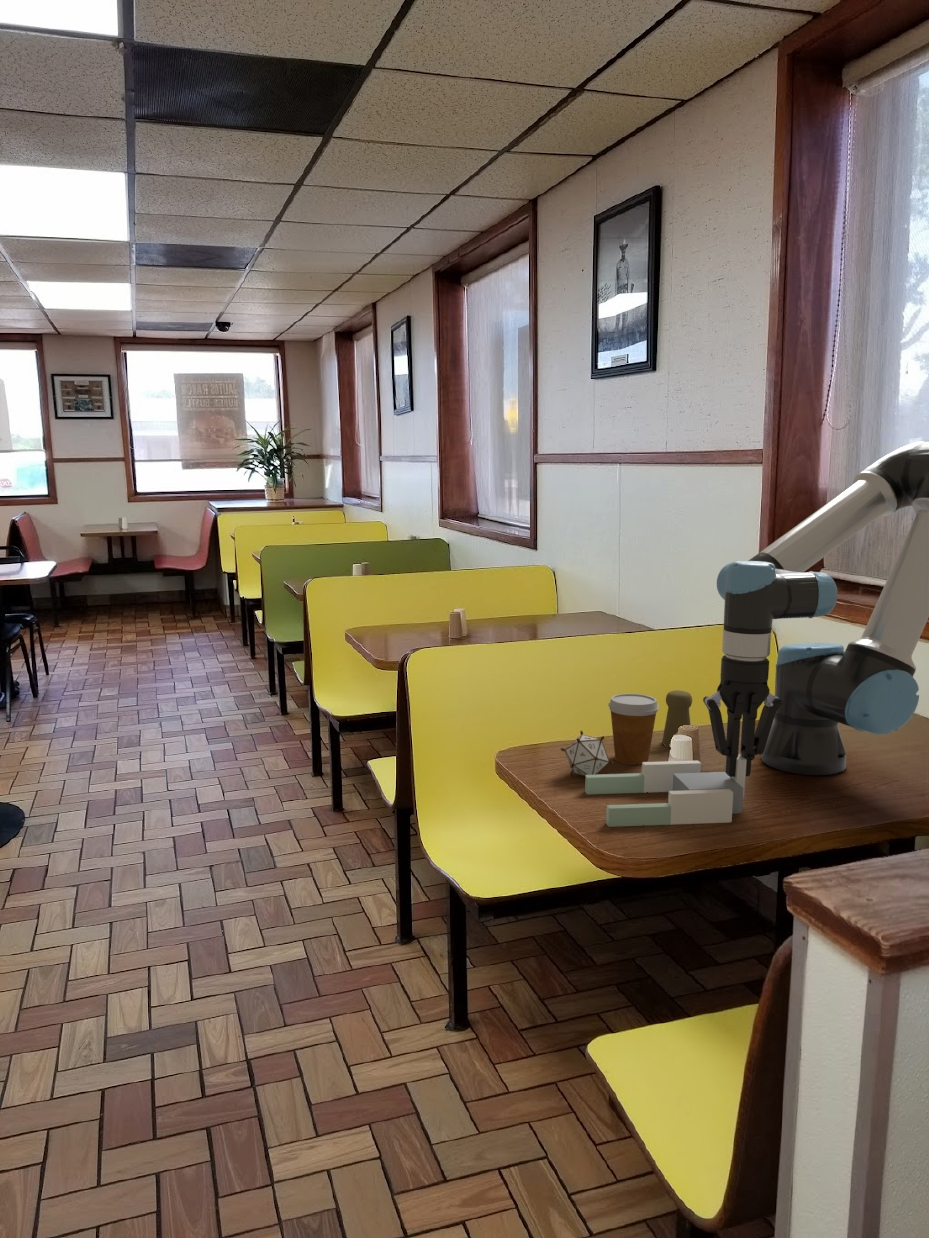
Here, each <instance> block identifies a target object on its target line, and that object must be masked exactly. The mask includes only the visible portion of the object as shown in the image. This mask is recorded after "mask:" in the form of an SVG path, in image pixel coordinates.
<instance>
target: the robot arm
mask: <svg viewBox="0 0 929 1238" xmlns="http://www.w3.org/2000/svg"><path fill="white" fill-rule="evenodd" d="M910 506H911V507H912V509H913V511H914V513H915V517H914V519H913V521H912V523H911V526H910V529H909V530H908V532H907V534H906V537H905V539H904V541H903V543H902V546H901V548H900V550H899V553H898V555H897V557H896V560H895V562H894V564H893V565H892V568H891V570H890V573H889V575H888V577H887V579H886V582H885V584H884V586H883V589H882V590H881V592H880V595H879V598H877V599H878V600H877V601H876V603H875V606H874V609H873V611H872V612H871V615H870V617H869V620H868V622H867V624H866V626H865V628H864V631H863V633H862V636H861V637H860V638H857V639H856V640H852V641H850V642H848V644H847V646H846V649H845V648H844V646H843V645H842V644H839V643H825V642H821V643H820V642H814V643H813V642H811V643H809V642H807V643H806V642H805V643H793V644H786V645H784V646H782V647H780V648H779V650H778V653H777V659H776V664H775V677H774V678H775V681H774V682H775V684H774V694H772V693H770V687H769V686H768V681H769V672H770V660H769V658H768V657H769V656H771V655H770V654H771V644H772V643H771V641H772V629H773V628H772V627H773V622H774V621H773V620H779V619H800V618H801V619H803V618H808V619H814V618H818V617H823V616H826V615H829V614H830V613H831V612H832V611H833V610H834V608H835V607H836V604H837V601H838V588H837V584H836V582H835V580H834V579H833V578H832V577H831V575H830V574H827V573H825V572H822V571H812V570H810V571H807V570H809V569H810V568H811V567H813V566H814V565H816V564H817V563H818V562H819V561H821V560H822V559H824V558H825V557H826V556H827V555H829V554H830V553H832V552H833V551H835V549H837V548H838V547H839V546H841V545H842V544H844V543H845V542H847V541H848V540H849V539H851V538H852V537H853V536H855V535H856V534H857V533H859V532H860V531H861V530H863V529H864V528H865V527H867V526H868V525H871V523H872V522H874V521H875V520H876V519H878V518H879V517H881V518H885V517H886V518H887V517H889V516H891V515H893V514H894V513H895V512H897V511H898V510H899V509H903V508H907V507H910ZM806 571H807V572H806ZM716 590H717V592H718V594H719V596H720V597H721V598H722V599H723V600H724V610H723V611H724V613H723V629H722V648H721V651H722V653H723V654H724V655H723V656H722V657H721V660H720V677H719V678H720V683H719V685H718V686H717V688H716V692H715V693H713V694H712V695H710V696H707V695H706V696H704V697H703V698H702V702H703V704H704V705H705V706H706V708H707V710H708V715H709V720H710V724H711V731H712V735H713V742H714V747H715V751H716V752H718V754H721V755H722V756H725V757H726V759H725V773H726V774H727V775H728V776H729V777H731V778H732V779H733V780H735V781H736V782H737V783H738V784H739V785H741V786H742V787H743V798H745V790H746V777H750V776H751V773H752V761H753V760H754V759H755V758H756V756H757V755H760V756H761V761H762V763H764V764H765V765H766V766H769V767H771V768H773V769H776V770H779V771H782V772H786V773H791V774H798V775H808V776H827V775H835V774H839V772H840V773H842V772H844V771H845V770H846V768H847V753H846V750H845V746H844V743H843V737H842V735H841V731H840V727H839V726H840V725H839V724H842V725H845V726H848V727H850V728H852V729H854V730H856V731H859V732H863V733H864V732H866V733H869V734H872V735H880V736H881V735H888V734H890V733H892V732H894V731H897V730H900V729H901V728H902V727H904V726H905V725H906V724H908V722H909V721H910V719H911V718H912V717H913V715H914V713H915V712H916V710H917V707H918V705H919V701H920V694H918V692H919V690H920V689H919V685H918V682H917V680H916V679H915V678H914V675H915V673H916V671H917V667H916V665H915V663H914V661H913V658H912V656H913V654H914V651H915V649H916V647H917V644H918V642H919V640H920V637H921V635H922V634H923V632H924V629H925V627H926V624H927V622H928V619H929V440H919V441H916V442H915V441H914V442H912V443H909V444H906V445H904V446H903V445H902V446H901V447H899V448H897V449H895V450H893V451H892V452H890V453H888V454H886V455H885V456H883V457H881V458H879V459H877V460H876V461H874V462H873V463H871V464H870V465H869V466H867V467H866V468H864V469H863V470H861V472H859V473H857V474H856V475H855V476H854V478H853V481H852V485H850V486H849V487H848V488H846V489H845V490H844V491H842V492H841V493H839V494H838V495H837V496H836V497H834V498H833V499H832V500H830V501H828V502H827V503H826V504H824V505H823V506H821V507H820V508H818V509H817V511H815V512H813V513H812V514H811V515H809V516H808V517H806V518H805V519H804V520H802V521H801V522H800V523H798V524H797V525H796V526H794V527H793V528H792V529H790V530H789V531H787V532H786V533H785V534H783V535H782V536H780V537H779V538H777V539H776V540H774V541H773V542H772V543H771V544H769V545H768V546H767V547H765V548H763V550H761V551H760V552H758V553H757V554H756V555H754V556H753V557H751V558H750V559H748V560H736V561H733V562H730V563H728V564H726V565H724V566H723V567H722V568H721V569H720V571H719V573H718V574H717V578H716ZM721 701H722V702H723V704H724V706H725V707H726V714H727V725H726V732H725V727H724V721H723V716H722V713H721V709H720V708H721V706H722V704H721ZM762 704H763V707H762V709H761V712H760V716H759V719H758V723H757V725H756V721H757V718H758V709H759V708H760V707H761V706H762ZM741 720H742V721H741ZM740 731H741V732H740ZM725 733H726V734H725ZM740 734H741V737H740ZM739 747H740V749H739ZM739 750H740V751H739ZM739 752H740V753H741V754H739ZM841 771H842V772H841Z"/></svg>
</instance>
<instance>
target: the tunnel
mask: <svg viewBox="0 0 929 1238" xmlns="http://www.w3.org/2000/svg"><path fill="white" fill-rule="evenodd" d="M701 767H702V762H701V761H699V760H674V761H673V760H671V761H648V762H642V764H641V772H637V773H606V774H604V773H603V774H596V775H585V776H584V777H585V781H584V782H585V783H584V792H585V794H586V795H609V794H611V795H613V794H614V795H615V794H641V793H642V794H643V793H644V794H645V793H647V792H648V793H668V797H667V798H668V800H667V802H664V803H663V802H662V803H631V804H629V803H627V804H607V805H606V809H605V810H606V813H605V824H606V826H607V827H608V828H610V827H612V828H613V827H618V828H619V827H638V826H639V827H640V826H643V825H644V826H670V825H694V824H695V825H696V824H697V825H698V824H721V823H722V824H723V823H724V824H725V823H732V822H733V821H732V820H733V814H732V807H733V792H732V791H731V790H730V789H716V790H685V791H673V773H702V768H701Z"/></svg>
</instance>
